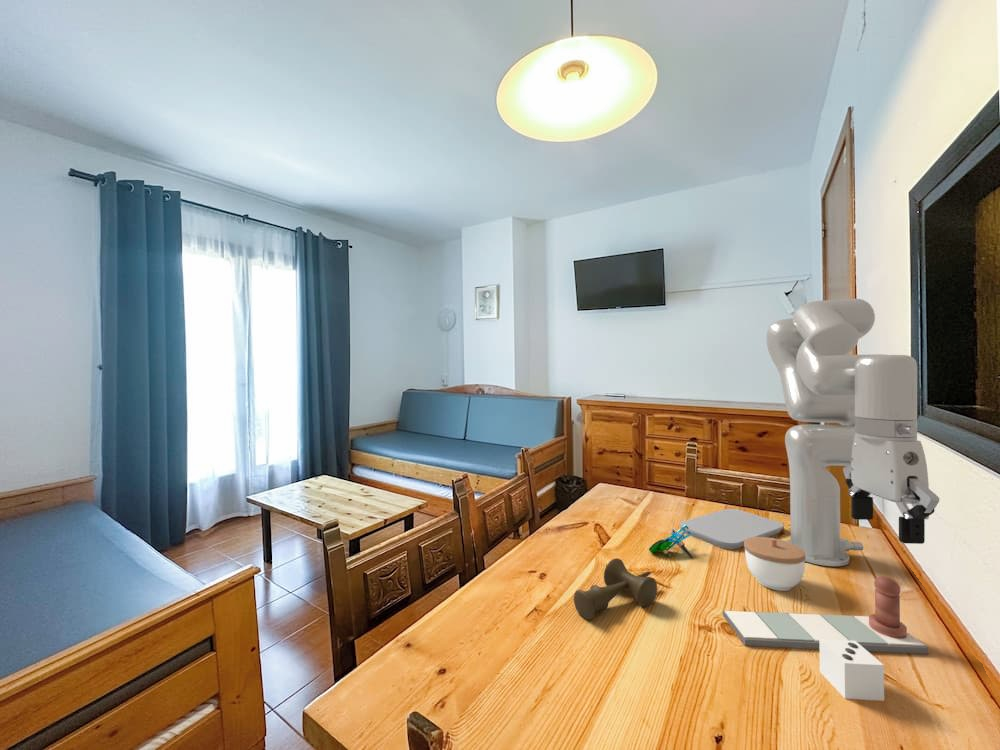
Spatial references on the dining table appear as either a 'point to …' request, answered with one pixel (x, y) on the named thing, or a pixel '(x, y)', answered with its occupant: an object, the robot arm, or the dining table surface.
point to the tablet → (730, 527)
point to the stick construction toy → (665, 544)
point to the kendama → (615, 589)
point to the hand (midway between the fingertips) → (885, 529)
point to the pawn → (887, 609)
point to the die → (851, 669)
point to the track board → (814, 631)
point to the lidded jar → (774, 562)
